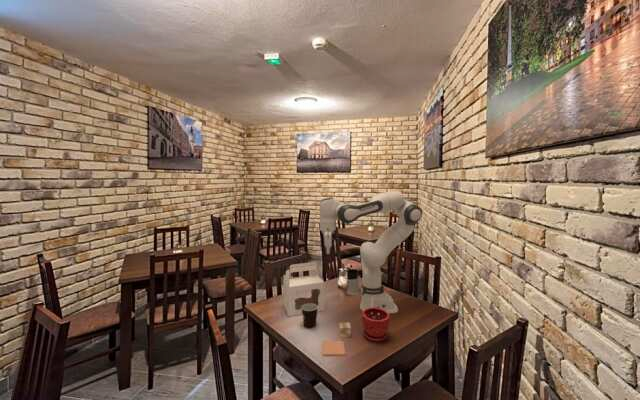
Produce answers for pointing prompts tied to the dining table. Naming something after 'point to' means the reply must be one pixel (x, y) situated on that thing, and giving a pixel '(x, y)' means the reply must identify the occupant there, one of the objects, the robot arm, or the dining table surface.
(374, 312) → the plant pot
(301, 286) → the gable box
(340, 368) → the dining table surface
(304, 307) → the coffee mug
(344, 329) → the beech cube
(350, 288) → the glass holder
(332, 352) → the plate
